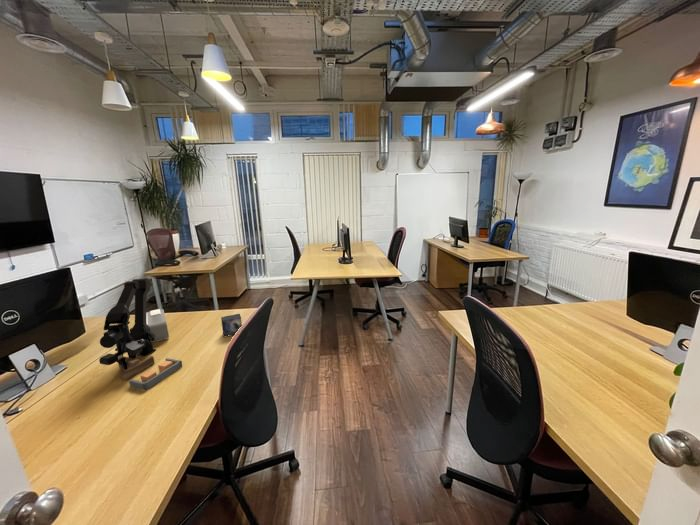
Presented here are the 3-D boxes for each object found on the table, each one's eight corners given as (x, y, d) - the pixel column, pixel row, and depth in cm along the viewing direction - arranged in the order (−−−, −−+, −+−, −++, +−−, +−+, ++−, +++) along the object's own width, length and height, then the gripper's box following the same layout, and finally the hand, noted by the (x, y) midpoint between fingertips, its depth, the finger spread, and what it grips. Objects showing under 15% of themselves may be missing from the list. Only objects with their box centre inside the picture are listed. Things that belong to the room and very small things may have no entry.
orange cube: (159, 372, 130) (158, 365, 129) (167, 368, 134) (166, 360, 133) (166, 374, 129) (164, 366, 128) (173, 369, 133) (172, 361, 132)
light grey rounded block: (148, 328, 178) (145, 310, 175) (166, 324, 183) (162, 307, 180) (149, 345, 156) (145, 325, 153) (169, 340, 161) (166, 320, 159)
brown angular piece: (106, 376, 128) (104, 366, 127) (137, 359, 141) (135, 350, 140) (125, 380, 125) (122, 370, 123) (154, 362, 138) (152, 353, 136)
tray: (130, 386, 121) (128, 380, 120) (168, 363, 137) (167, 358, 137) (145, 390, 118) (144, 384, 117) (182, 366, 135) (181, 360, 134)
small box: (223, 337, 162) (221, 320, 160) (222, 333, 168) (220, 316, 165) (243, 333, 167) (241, 316, 164) (241, 329, 172) (239, 313, 170)
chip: (142, 383, 123) (140, 375, 122) (151, 378, 126) (149, 370, 125) (148, 385, 121) (147, 377, 120) (157, 379, 125) (156, 371, 124)
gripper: (113, 349, 118) (121, 382, 122) (154, 329, 136) (160, 358, 139) (94, 346, 121) (102, 378, 125) (137, 327, 139) (143, 355, 142)
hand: (129, 367), depth 133 cm, fingers closed on brown angular piece, 3 cm apart
